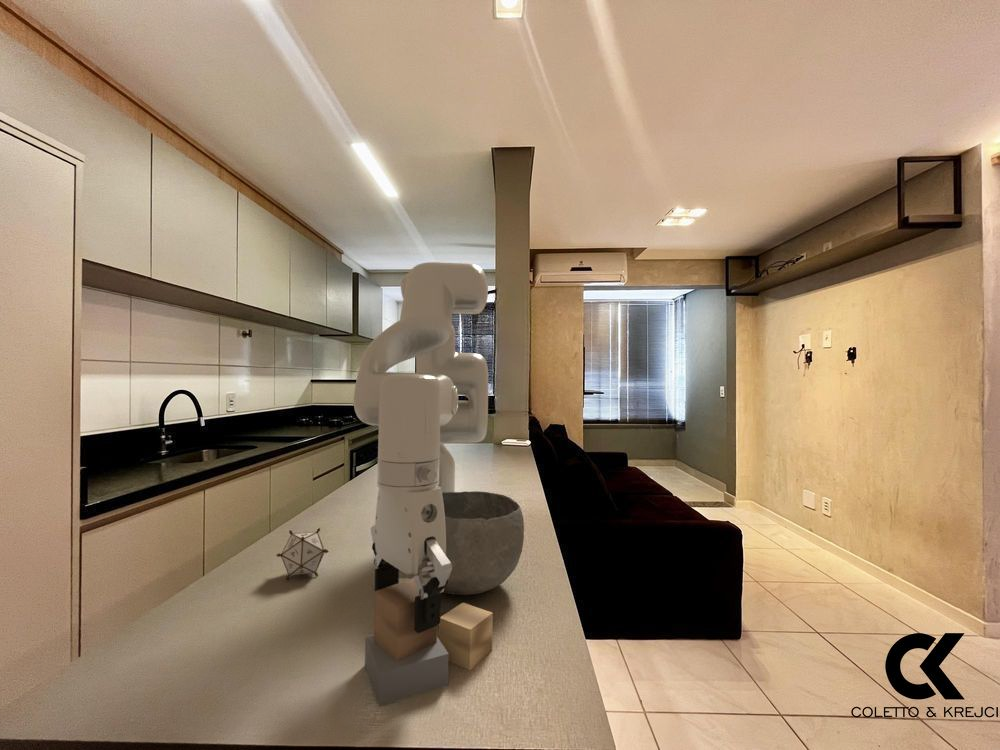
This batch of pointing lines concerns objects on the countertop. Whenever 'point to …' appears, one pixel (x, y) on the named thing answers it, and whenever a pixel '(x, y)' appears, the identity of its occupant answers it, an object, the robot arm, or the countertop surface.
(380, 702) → the base block
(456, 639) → the oak cube
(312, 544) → the game die
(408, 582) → the walnut cube
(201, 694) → the countertop surface
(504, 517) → the bowl
